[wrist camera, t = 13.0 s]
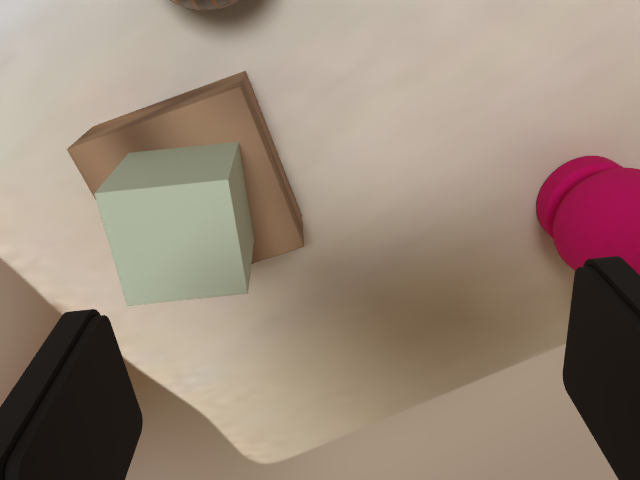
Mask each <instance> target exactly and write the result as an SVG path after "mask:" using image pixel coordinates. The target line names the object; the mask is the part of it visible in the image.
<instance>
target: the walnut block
mask: <svg viewBox="0 0 640 480" xmlns="http://www.w3.org/2000/svg"><path fill="white" fill-rule="evenodd" d="M230 142H239V148H240V154H241V160H242V166H243V173H244V179H245V185H246V192H247V198H248V204H249V210H250V217H251V223H252V229H253V235H254V246H253V254H252V263H255V262H258V261H261V260H264V259H267V258H270V257H273V256H276V255H279V254H283V253H286V252H289V251H292V250H295V249H298V248H301V247H304V240H303V227H302V215H301V212H300V209H299V207H298V204H297V202H296V199H295V197H294V194H293V191H292V189H291V186H290V184H289V181H288V179H287V176H286V174H285V171H284V168H283V166H282V163H281V161H280V158H279V156H278V153H277V150H276V148H275V145H274V143H273V140H272V138H271V135H270V132H269V130H268V127H267V125H266V122H265V120H264V117H263V115H262V112H261V109H260V107H259V104H258V102H257V99H256V97H255V94H254V91H253V89H252V86H251V84H250V81H249V79H248V76H247V73H246V71H244V72H241V73H238V74H236V75H233V76H230V77H227V78H225V79H222V80H219V81H216V82H214V83H211V84H208V85H205V86H203V87H200V88H197V89H194V90H192V91H189V92H186V93H183V94H181V95H178V96H175V97H173V98H170V99H167V100H164V101H162V102H159V103H156V104H153V105H151V106H148V107H145V108H142V109H140V110H137V111H134V112H131V113H129V114H126V115H123V116H120V117H118V118H115V119H112V120H109V121H107V122H104V123H101V124H99V125H96V126H93V127H92V128H91V129H90V130H89V131H87V132H86V133H85V134H84V135H83V136H82V137H80V138H79V139H78V140H77V141H76V142H75V143H74V144H72V145H71V146H70V147H69V148H68V149H67V150H68V152H69V154H70V156H71V157H72V159H73V161H74V163H75V164H76V166H77V168H78V170H79V171H80V173H81V175H82V177H83V178H84V180H85V182H86V184H87V185H88V187H89V189H90V191H91V192H92V194H93V196H94V198H95V194H94V193H95V192H96V191H97V190H98V188H99V187H100V186H101V185H102V184H103V183H104V181H105V180H106V179H107V178H108V177H109V175H110V174H111V173H112V172H113V171H114V170H115V168H116V167H117V166H118V165H119V164H120V163H121V161H122V160H123V159H124V158H125V157H126V155H127V154H128V153H133V152H143V151H152V150H162V149H172V148H182V147H191V146H201V145H211V144H220V143H230ZM95 199H96V198H95ZM252 263H251V264H252Z"/></svg>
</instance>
